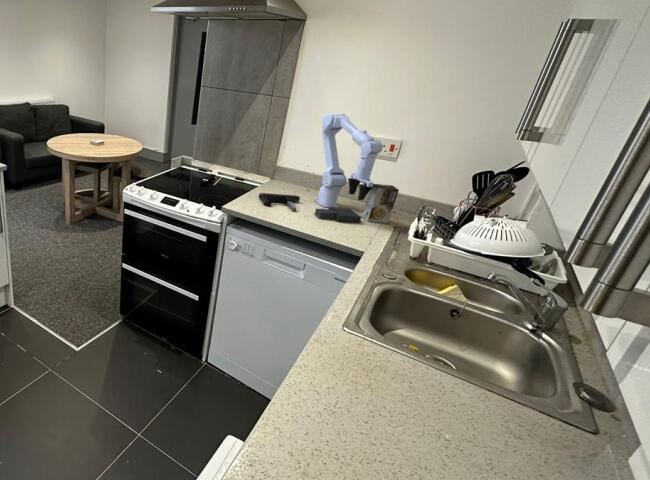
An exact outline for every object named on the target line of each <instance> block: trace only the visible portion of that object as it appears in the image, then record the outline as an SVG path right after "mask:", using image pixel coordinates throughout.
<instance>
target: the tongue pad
mask: <svg viewBox="0 0 650 480" xmlns="http://www.w3.org/2000/svg"><path fill="white" fill-rule="evenodd" d="M336 213H339V212H338V211H334V210H331V209H329V208H315V210H314V215H315V217H317V218H318V219H319V220H335V216H336Z"/></svg>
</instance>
